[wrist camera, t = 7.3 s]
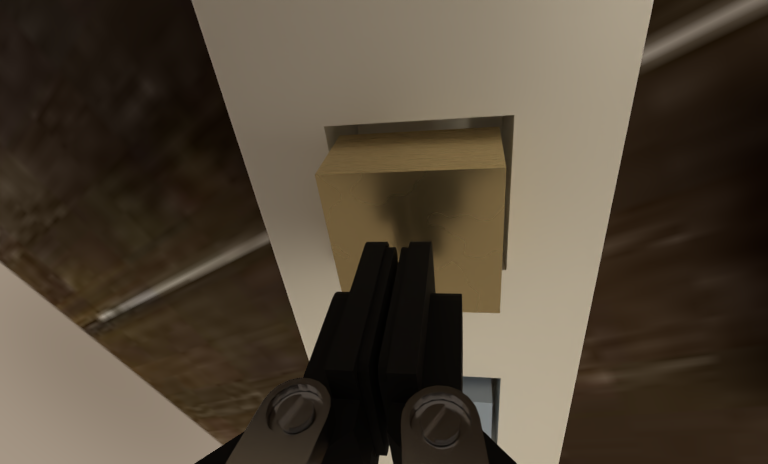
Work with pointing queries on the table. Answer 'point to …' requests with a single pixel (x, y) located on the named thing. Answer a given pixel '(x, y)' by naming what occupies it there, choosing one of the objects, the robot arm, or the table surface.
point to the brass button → (421, 204)
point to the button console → (440, 112)
